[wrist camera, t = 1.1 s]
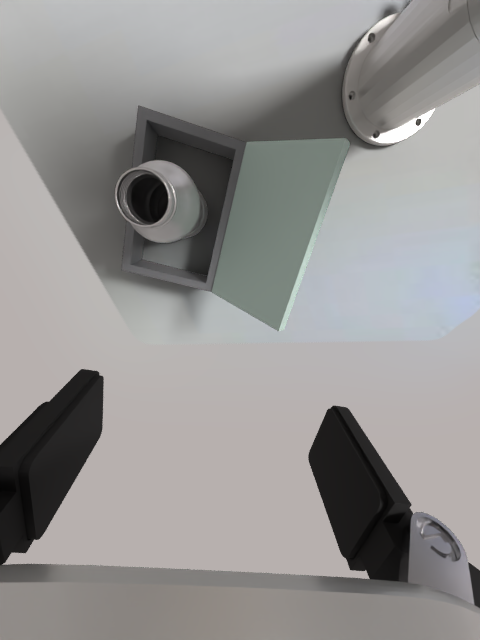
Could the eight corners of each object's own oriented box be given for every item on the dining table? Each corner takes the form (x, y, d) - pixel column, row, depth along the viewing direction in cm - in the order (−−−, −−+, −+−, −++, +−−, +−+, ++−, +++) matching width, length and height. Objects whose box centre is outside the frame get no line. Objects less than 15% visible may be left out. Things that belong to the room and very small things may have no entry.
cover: (345, 137, 21) (350, 143, 21) (246, 141, 28) (252, 145, 29) (278, 331, 26) (283, 330, 27) (211, 292, 34) (217, 292, 35)
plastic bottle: (151, 213, 35) (69, 201, 16) (183, 174, 33) (132, 110, 15) (187, 246, 37) (150, 270, 18) (218, 211, 35) (213, 196, 16)
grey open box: (151, 123, 31) (138, 105, 26) (243, 154, 33) (246, 142, 28) (134, 264, 37) (121, 270, 32) (212, 283, 39) (211, 291, 34)
